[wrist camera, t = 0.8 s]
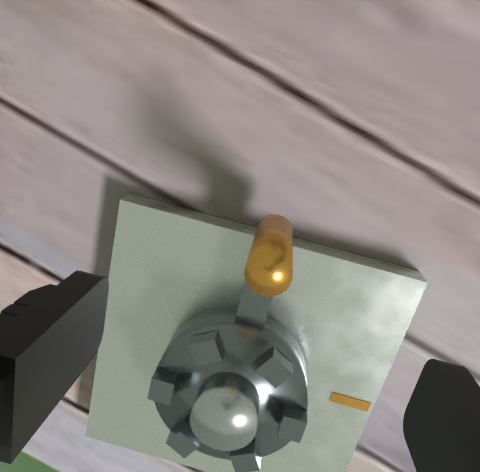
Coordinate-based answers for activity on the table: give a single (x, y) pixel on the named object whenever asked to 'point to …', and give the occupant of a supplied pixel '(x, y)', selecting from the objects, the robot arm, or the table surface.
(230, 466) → the base plate
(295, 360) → the chuck with crank handle
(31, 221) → the table surface
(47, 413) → the robot arm
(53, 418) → the table surface
